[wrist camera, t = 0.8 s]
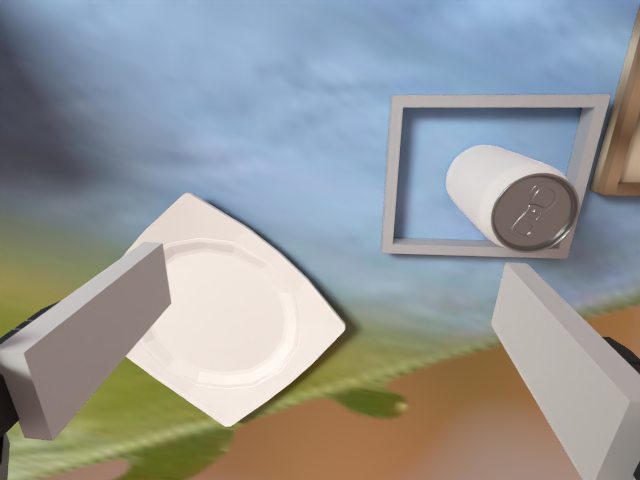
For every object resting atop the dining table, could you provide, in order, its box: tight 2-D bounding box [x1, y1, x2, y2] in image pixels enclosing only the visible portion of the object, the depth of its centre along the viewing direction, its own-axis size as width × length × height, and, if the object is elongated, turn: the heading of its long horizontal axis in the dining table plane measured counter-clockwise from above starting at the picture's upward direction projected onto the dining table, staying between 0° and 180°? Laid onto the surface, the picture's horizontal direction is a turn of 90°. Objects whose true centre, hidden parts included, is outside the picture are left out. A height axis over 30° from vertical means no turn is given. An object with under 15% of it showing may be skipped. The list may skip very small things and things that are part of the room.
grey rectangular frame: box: [381, 95, 611, 259], centre depth 35 cm, size 15×18×2 cm
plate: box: [124, 193, 345, 427], centre depth 43 cm, size 24×24×3 cm
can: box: [446, 145, 580, 253], centre depth 30 cm, size 6×6×12 cm
